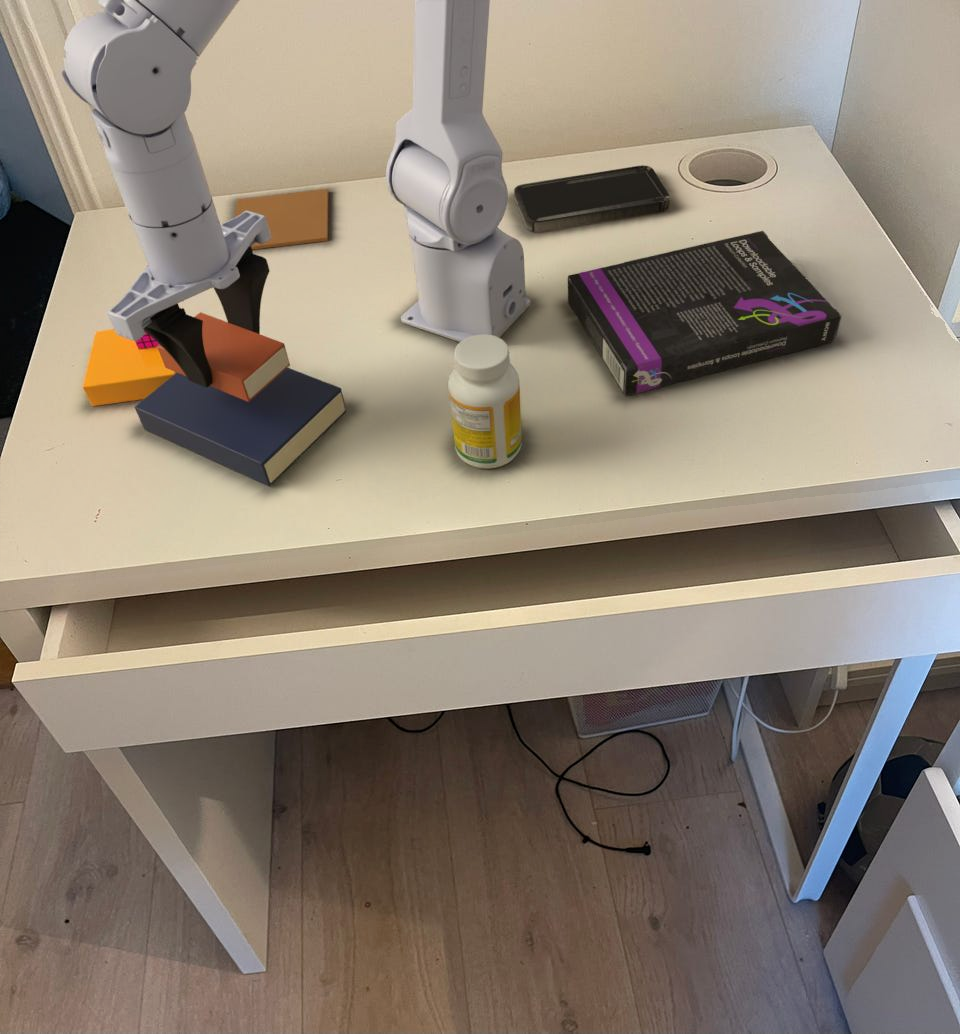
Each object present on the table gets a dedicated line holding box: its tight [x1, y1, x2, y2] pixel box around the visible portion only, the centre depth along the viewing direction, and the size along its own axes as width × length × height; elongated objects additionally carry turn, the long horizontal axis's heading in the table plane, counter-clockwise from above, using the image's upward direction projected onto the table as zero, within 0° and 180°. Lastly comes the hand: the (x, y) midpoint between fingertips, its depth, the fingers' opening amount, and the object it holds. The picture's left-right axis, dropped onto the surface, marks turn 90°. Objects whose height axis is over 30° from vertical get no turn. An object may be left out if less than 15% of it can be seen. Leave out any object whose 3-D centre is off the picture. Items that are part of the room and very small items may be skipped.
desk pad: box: [234, 188, 329, 251], centre depth 101 cm, size 10×10×1 cm
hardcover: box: [134, 367, 347, 487], centre depth 79 cm, size 14×10×3 cm
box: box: [567, 230, 843, 397], centre depth 83 cm, size 14×4×20 cm
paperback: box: [157, 311, 291, 402], centre depth 75 cm, size 9×5×2 cm, turn 58°
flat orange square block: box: [82, 328, 177, 407], centre depth 84 cm, size 8×8×4 cm
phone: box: [513, 164, 671, 233], centre depth 99 cm, size 8×1×15 cm
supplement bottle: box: [447, 334, 523, 469], centre depth 72 cm, size 5×5×10 cm
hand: (224, 361), depth 76 cm, fingers closed on paperback, 5 cm apart
